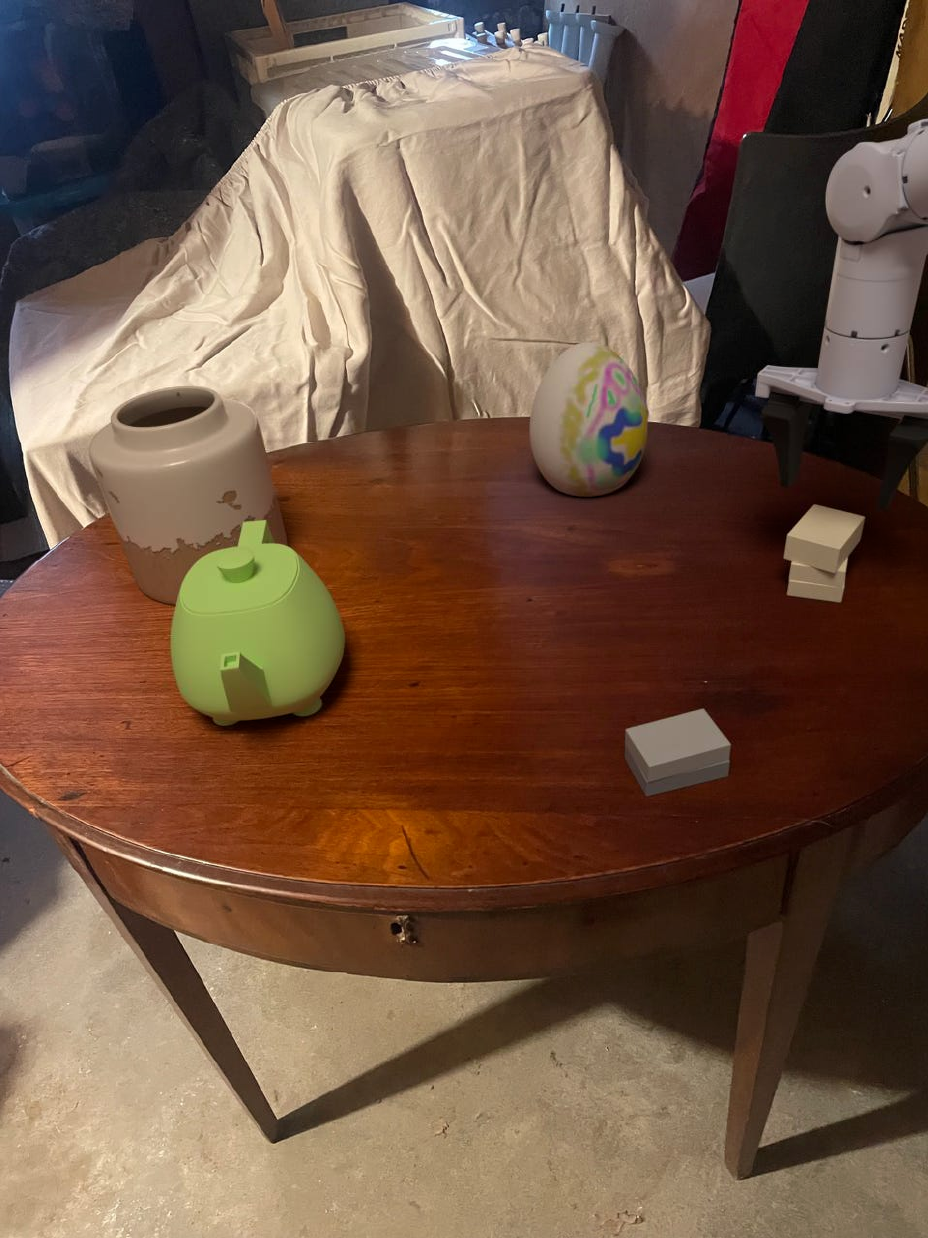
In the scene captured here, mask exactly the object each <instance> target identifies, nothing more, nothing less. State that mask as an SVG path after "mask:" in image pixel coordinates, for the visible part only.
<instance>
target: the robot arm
mask: <svg viewBox="0 0 928 1238" xmlns="http://www.w3.org/2000/svg"><path fill="white" fill-rule="evenodd" d="M825 209H826V214H827V218H828V222H829V224H830V225H831V227H832V229H833V230H834V232H835V233H836V234H837V235H838V238H837V239H838V240H837V245H836V250H835V258H834V263H833V268H832V269H833V270H832V277H831V282H830V289H829V294H828V301H827V306H826V313H825V321H824V327H823V332H822V333H823V334H822V339H821V345H820V351H819V352H820V353H819V357H818V358H819V359H818V365H817V368H816V367H791V366H789V367H787V366H777V365H769V364H768V365H766V366H765V367H763V369H762V370H760V371H759V372H758V373H757V376H756V385H755V391H754V392H755V394H754V396H755V397H756V398H757V397H758V398H762V399H763V398H764V399H768V400H767V402H766V405H764V407H763V408H762V409H761V420H762V421H763V423H764V425H765V427H766V429H767V431H768V433H769V436H770V438H771V441H772V444H773V446H774V450H775V455H776V459H777V464H778V470H779V477H780V478H779V479H780V487H784V488H786V489H789V488H790V487H791V486H792V485H793V484H794V483H795V482H796V480H797V479H798V478H799V474H800V470H801V465H802V458H803V457H802V456H803V448H804V440H805V434H806V431H807V427H808V426H807V425H808V421H809V417H810V414H811V411H812V406H813V404H816V405H822V406H823V410H825V411H828V412H834V413H838V414H845V415H847V414H852V413H853V412H854V411H855V412H861V413H866V414H872V415H877V416H878V415H879V416H882V417H889V418H894V419H900V420H901V421H900V422H899V424H897V425H896V426H895V428H894V429H893V430H892V431H891V432H890V434H889V437H888V446H887V447H888V448H887V455H886V456H887V457H886V465H885V469H884V475H883V479H882V483H881V486H880V489H879V492H878V495H877V499H876V505H875V506H876V508H875V509H877V510H881V511H887V509H888V508H889V507H890V505H891V504H892V503H893V502H894V499H895V496H896V493H897V491H898V490H899V489H898V488H899V486H900V484H901V482H902V480H903V478H904V476H905V474H906V473H907V471H908V469H909V468H910V466H911V465H912V463H913V461H914V460H915V459H916V457H917V456H918V455H919V453H920V452H921V451H922V450H923V448H925V446H926V445H927V444H928V387H925V386H922V385H919V384H917V383H913V382H911V381H908V380H904V379H901V373H902V368H903V363H904V359H905V355H906V350H907V345H908V339H909V336H910V331H911V326H912V322H913V317H914V313H915V309H916V303H917V300H918V295H919V290H920V286H921V281H922V276H923V273H924V267H925V262H926V258H927V256H928V118H924V119H919V120H917V121H915V122H911V123H910V124H909V125H908V127H907V134H905V135H904V136H902V137H901V138H897V139H892V140H885V141H881V142H874V141H863V142H859V143H857V144H856V145H855V146H854V147H853V148H852V149H850V150H847V152H845V153H844V154H842V156H840V157H839V159H838V160H837V161H836V162H835V165H834V166H833V167H832V169H831V172H830V174H829V176H828V180H827V184H826V190H825Z"/></svg>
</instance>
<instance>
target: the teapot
mask: <svg viewBox="0 0 928 1238" xmlns="http://www.w3.org/2000/svg"><path fill="white" fill-rule="evenodd" d="M345 645H346V633H345V629H344V624H343V620H342V618H341V615H340V612H339V609H338V608H337V605H336V603H335V601H334V599H333V597H332V595H331V593H330V592H329V589H328V588H327V587H326V585H325V583H324V581H322V579H321V578H320V577H319V575H318V574H317V573H316V571H314V569H313V568H311V566H310V565H309V564H308V563H307V562H306V561H305V560H304V558H303V557H302V556H300V554H299V553H297V551H295V549H293V548H291V547H290V546H289V545H288V546H285V545H282V544H275V543H274V540H273V537H272V535H271V532H270V529H269V526H268V523H267V520H261V521H250V522H243V526H242V530H241V534H240V538H239V543H238V546H237V547H231V548H226V549H221V550H217V551H214V552H211V553H209V554H207V555H205V556H204V557H202V558H201V559H200V560H198V561H197V562H196V563H195V564H194V565H193V566H192V568H191V569H190V570H189V572H188V573H187V575H186V576H185V578H184V580H183V582H182V585H181V588H180V591H179V594H178V598H177V602H176V605H175V607H174V611H173V616H172V620H171V629H170V657H171V658H170V659H171V666H172V671H173V676H174V679H175V682H176V686H177V689H178V692H179V693H180V696H181V698H182V699H183V700H184V701H185V702H186V703H187V705H188V706H189V707H191V708H193V709H194V710H196V711H197V712H199V713H201V714H203V715H205V716H208V717H211V718H212V721H213V723H215V724H216V725H218V726H224V727H225V726H227V727H228V726H231V725H234V724H236V723H238V722H239V721H252V720H263V719H269V718H273V717H274V718H275V717H280V716H284V715H288V714H293V715H294V716H297V717H308V716H311V715H313V714H315V713H317V712H318V711H319V710H320V709H321V708H322V706H323V700H322V698H320V697H322V696H323V694H324V693H325V691H326V690H327V689H328V688H329V686H330V685H331V683H332V681H333V679H334V678H335V676H336V674H337V672H338V669H339V667H340V665H341V663H342V661H343V658H344V652H345V647H346V646H345Z"/></svg>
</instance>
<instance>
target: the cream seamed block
mask: <svg viewBox="0 0 928 1238" xmlns="http://www.w3.org/2000/svg"><path fill="white" fill-rule="evenodd" d="M848 561H849V556H848V557H847V558H846V560H845V561H844V562H843V564H842V565H841V566H840V568H839V569H838V570H837V571H836V573H832V572H828V571H825V570H821V569H818V568H814V567H811V566H807V565H804V564H800V563H797V562H793V561H791V562H790V567H789V574H788V584H787V590H786V596H789V597H796V598H803V599H810V600H816V601H817V600H818V601H824V602H825V601H826V602H832V603H840V604H841V603H842V601H843V596H844V592H845V585H846V584H845V583H846V572H847V567H848Z"/></svg>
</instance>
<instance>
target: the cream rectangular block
mask: <svg viewBox="0 0 928 1238" xmlns="http://www.w3.org/2000/svg"><path fill="white" fill-rule="evenodd" d="M865 520H866V517H865V516H863V515H860V514H856V513H852V512H847V511H844V510H840V509H836V508H832V507H828V506H824V505H819V504H815V503H814V504H813V505H812V506H811V507H810V508H809V509H808V510H807V512H805V514H804V515H803V516H802V517H801V519H800V520H799V521H798V522H797V523H796V524H795V525H794V526H793V527H792V529H791V530H790V531H788V533H787V534H786V539H785V545H784V550H783V551H784V552H783V559H784V560H787V561H791V562H792V561H793V562H797V563H800V564H804V565H807V566H811V567H814V568H818V569H821V570H825V571H828V572H832V573H836V571H837V570H838V569H839V568H840V566H841V565H842V564H843V562H844V561H845V560H846V558H847V557H848V558H849V556H850V554H852V552H853V550H854V549H855V548H856V547H857V545H859V543H860V542H861V538H862V534H863V530H864V525H865Z"/></svg>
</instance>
